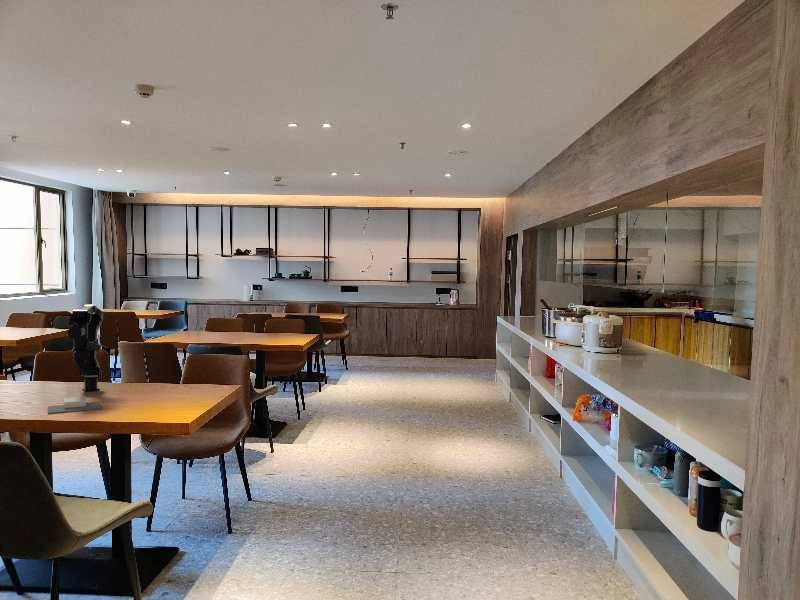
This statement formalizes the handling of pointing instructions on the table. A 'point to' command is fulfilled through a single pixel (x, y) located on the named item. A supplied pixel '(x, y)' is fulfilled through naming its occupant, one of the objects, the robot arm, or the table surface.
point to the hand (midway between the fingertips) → (80, 370)
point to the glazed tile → (74, 402)
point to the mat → (62, 410)
